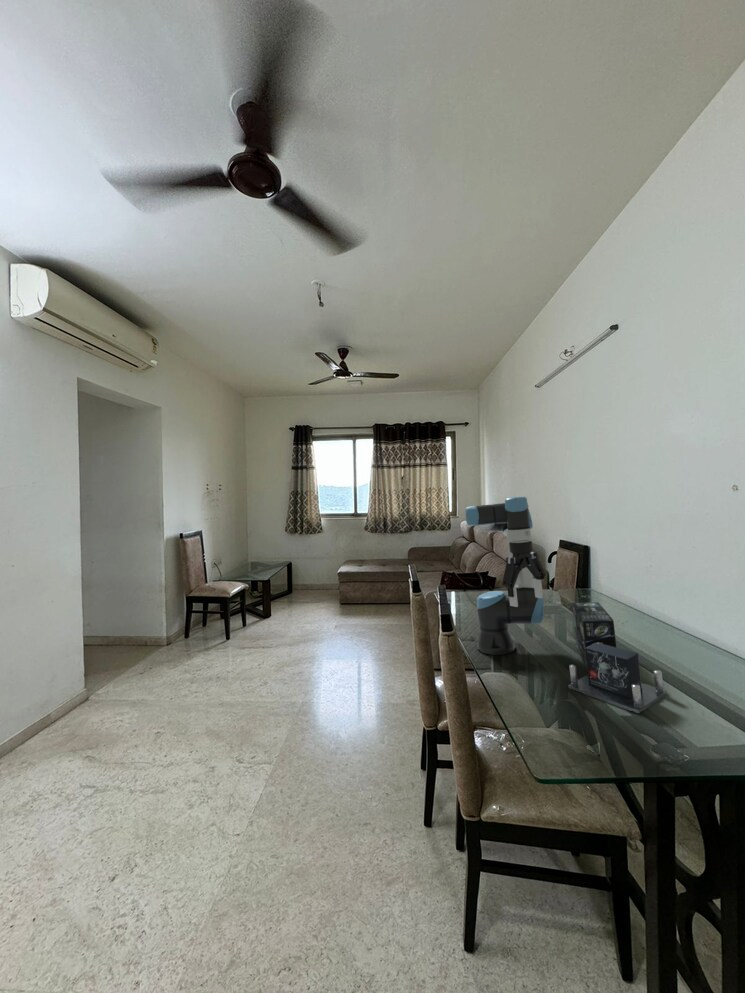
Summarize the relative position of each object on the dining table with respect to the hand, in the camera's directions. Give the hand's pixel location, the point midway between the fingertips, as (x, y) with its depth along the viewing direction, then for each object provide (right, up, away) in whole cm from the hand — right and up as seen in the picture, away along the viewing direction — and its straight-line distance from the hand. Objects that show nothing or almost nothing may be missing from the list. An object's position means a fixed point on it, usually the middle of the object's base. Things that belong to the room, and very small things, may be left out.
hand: (527, 601), depth 138 cm
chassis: (+22, -24, -14) cm, 36 cm away
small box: (+22, -23, -14) cm, 35 cm away
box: (+29, -25, +9) cm, 39 cm away
